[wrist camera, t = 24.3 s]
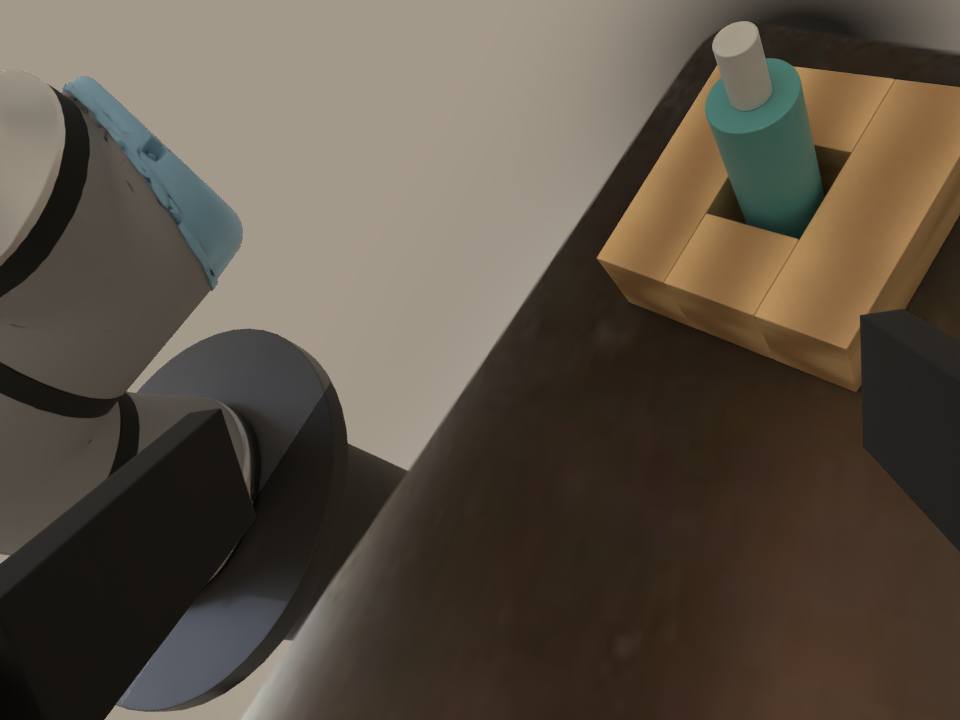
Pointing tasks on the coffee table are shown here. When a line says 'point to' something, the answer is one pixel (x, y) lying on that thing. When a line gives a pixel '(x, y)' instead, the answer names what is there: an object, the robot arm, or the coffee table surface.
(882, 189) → the holder
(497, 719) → the coffee table surface
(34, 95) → the robot arm
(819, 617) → the coffee table surface
